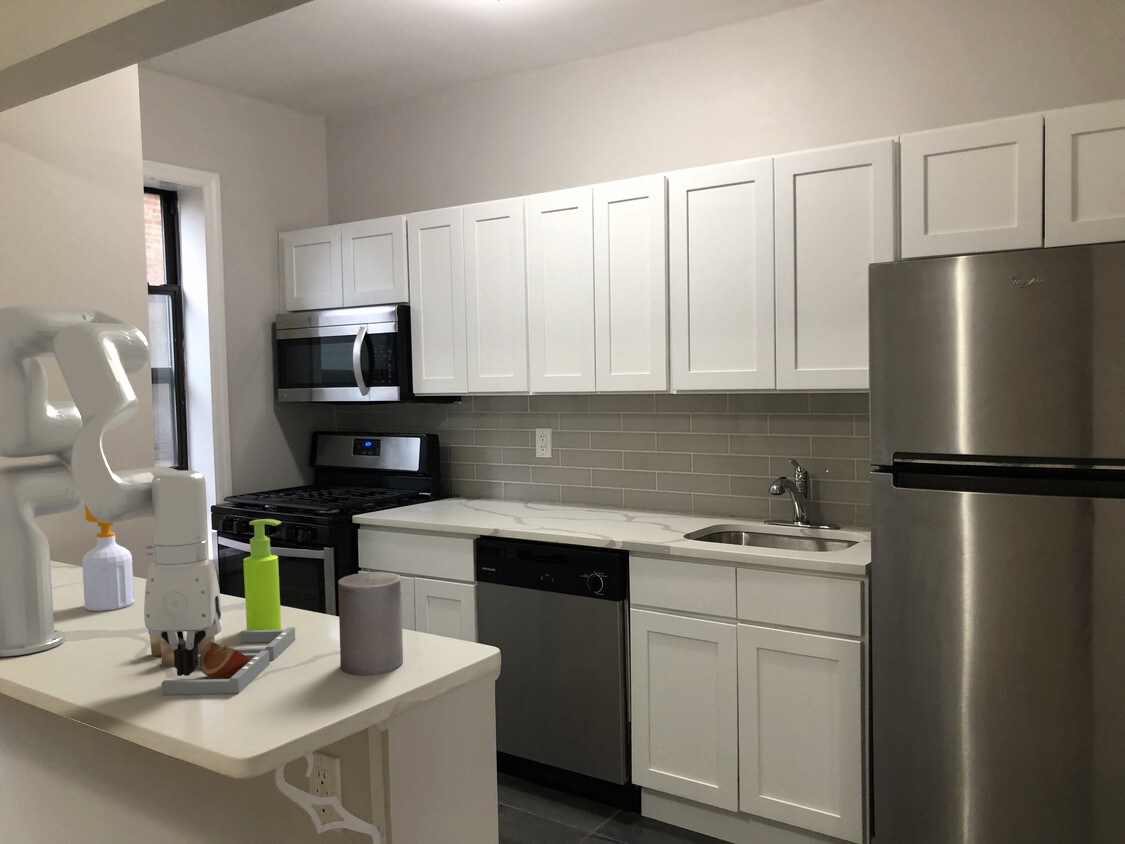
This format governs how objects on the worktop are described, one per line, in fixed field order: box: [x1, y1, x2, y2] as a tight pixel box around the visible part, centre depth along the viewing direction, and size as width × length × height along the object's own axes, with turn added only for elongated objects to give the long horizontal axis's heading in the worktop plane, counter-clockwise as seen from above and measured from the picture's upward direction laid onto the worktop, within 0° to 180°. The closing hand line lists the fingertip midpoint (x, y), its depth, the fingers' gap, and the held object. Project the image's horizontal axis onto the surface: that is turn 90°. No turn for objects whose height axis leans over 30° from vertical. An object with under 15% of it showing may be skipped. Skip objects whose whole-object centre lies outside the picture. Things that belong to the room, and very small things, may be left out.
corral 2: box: [231, 626, 296, 661], centre depth 151 cm, size 9×11×2 cm
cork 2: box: [160, 639, 175, 668], centre depth 146 cm, size 3×3×4 cm
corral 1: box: [161, 650, 271, 696], centre depth 137 cm, size 11×13×2 cm
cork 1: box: [149, 634, 163, 657], centre depth 151 cm, size 3×3×4 cm
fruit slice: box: [200, 641, 250, 679], centre depth 138 cm, size 8×7×5 cm
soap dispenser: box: [243, 518, 283, 631], centre depth 163 cm, size 6×7×20 cm
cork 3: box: [198, 635, 216, 655], centre depth 151 cm, size 3×3×4 cm
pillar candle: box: [337, 570, 404, 676], centre depth 142 cm, size 10×10×15 cm
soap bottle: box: [81, 504, 135, 612], centre depth 183 cm, size 9×9×25 cm
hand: (186, 672), depth 137 cm, fingers closed
